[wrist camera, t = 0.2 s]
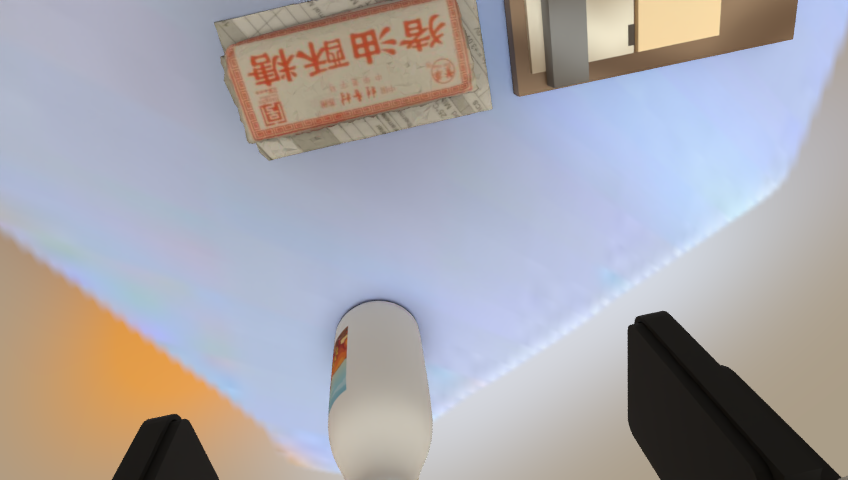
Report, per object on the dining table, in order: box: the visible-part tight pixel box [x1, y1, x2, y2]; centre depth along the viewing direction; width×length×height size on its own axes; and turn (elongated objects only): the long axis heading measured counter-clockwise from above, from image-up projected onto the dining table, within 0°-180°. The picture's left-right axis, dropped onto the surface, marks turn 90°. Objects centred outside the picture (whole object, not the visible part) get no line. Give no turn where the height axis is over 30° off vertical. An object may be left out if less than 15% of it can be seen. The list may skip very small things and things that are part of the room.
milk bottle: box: [328, 301, 432, 480], centre depth 38 cm, size 8×8×20 cm
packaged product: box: [214, 0, 492, 161], centre depth 35 cm, size 18×5×10 cm
